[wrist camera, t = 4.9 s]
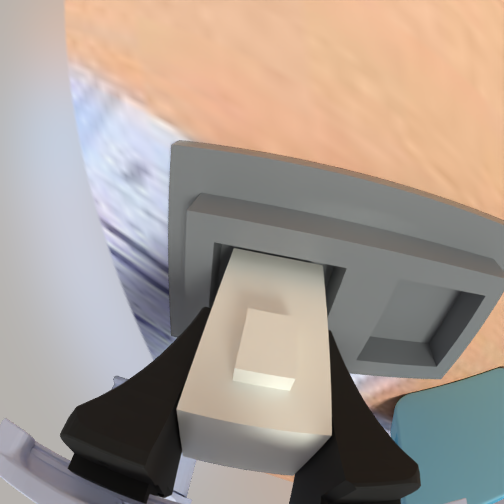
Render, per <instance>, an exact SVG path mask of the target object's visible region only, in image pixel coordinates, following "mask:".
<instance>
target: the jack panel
mask: <svg viewBox="0 0 504 504" xmlns="http://www.w3.org/2000/svg"><path fill="white" fill-rule="evenodd" d="M234 248H236V249H242V250H247V251H252V252H257V253H262V254H267V255H272V256H277V257H282V258H288V259H293V260H298V261H303V262H308V263H313V264H318V265H323V273H324V284H325V295H326V307H327V320H328V330H331V332H332V334H333V336H334V339H335V341H336V344H337V346H338V349H339V351H340V354H341V356H342V358H343V361H344V363H345V365H346V367H347V369H348V371H349V373H352V374H362V375H373V376H385V377H400V378H419V379H441V378H442V377H443V376H444V375H445V374H446V373H447V371H448V370H449V369H450V368H451V367H452V365H453V364H454V363H455V362H456V360H457V359H458V358H459V357H460V355H461V354H462V353H463V351H464V350H465V349H466V347H467V346H468V345H469V343H470V342H471V341H472V339H473V338H474V337H475V335H476V334H477V332H478V331H479V329H480V328H481V327H482V325H483V324H484V322H485V321H486V319H487V318H488V316H489V315H490V313H491V311H492V310H493V308H494V307H495V305H496V304H497V302H498V300H499V299H500V297H501V295H502V294H503V292H504V220H501V219H499V218H496V217H494V216H491V215H489V214H486V213H484V212H481V211H479V210H476V209H473V208H471V207H468V206H465V205H462V204H460V203H457V202H454V201H451V200H448V199H445V198H442V197H439V196H436V195H433V194H430V193H427V192H424V191H421V190H418V189H415V188H411V187H408V186H405V185H401V184H398V183H395V182H391V181H388V180H384V179H380V178H377V177H373V176H369V175H366V174H362V173H358V172H354V171H350V170H346V169H342V168H338V167H333V166H329V165H325V164H320V163H316V162H311V161H306V160H302V159H297V158H292V157H287V156H282V155H276V154H271V153H265V152H260V151H254V150H248V149H241V148H235V147H228V146H221V145H214V144H207V143H199V142H190V141H182V140H179V141H177V142H175V143H174V144H172V145H171V162H170V184H169V224H168V261H169V301H170V323H171V336H174V337H179V336H180V335H181V334H182V333H183V331H184V330H185V329H186V328H187V327H188V326H189V325H190V323H191V322H192V321H193V320H194V318H195V317H196V316H197V315H198V313H199V312H200V310H201V309H202V308H203V307H209V308H212V306H213V304H214V301H215V298H216V295H217V293H218V290H219V287H220V284H221V282H222V279H223V276H224V273H225V271H226V268H227V265H228V263H229V260H230V257H231V254H232V252H233V249H234Z"/></svg>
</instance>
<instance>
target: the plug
mask: <svg viewBox="0 0 504 504" xmlns="http://www.w3.org/2000/svg"><path fill="white" fill-rule="evenodd" d="M177 417H178V425H179V432H180V439H181V446H182V452H183V456H184V457H188V458H192V459H196V460H200V461H204V462H209V463H213V464H218V465H223V466H228V467H233V468H239V469H244V470H251V471H257V472H265V473H272V474H281V475H292V476H293V475H294V474H295V473H296V472H297V471H298V470H299V469H300V468H301V467H302V466H303V465H304V464H305V463H306V462H307V461H308V460H309V459H310V458H311V457H312V456H313V455H314V454H315V453H316V452H317V451H318V450H319V449H320V448H321V447H322V446H323V445H324V444H325V442H326V441H327V440H328V439H329V438H330V437H331V436H332V407H331V374H330V353H329V335H328V320H327V307H326V295H325V284H324V273H323V265H318V264H313V263H308V262H303V261H298V260H293V259H288V258H282V257H277V256H272V255H267V254H262V253H257V252H252V251H247V250H242V249H236V248H234V249H233V252H232V254H231V257H230V260H229V263H228V265H227V268H226V271H225V273H224V276H223V279H222V282H221V284H220V287H219V290H218V293H217V295H216V298H215V301H214V304H213V306H212V309H211V312H210V315H209V318H208V320H207V323H206V326H205V329H204V332H203V334H202V337H201V340H200V343H199V346H198V348H197V351H196V354H195V357H194V360H193V363H192V365H191V368H190V371H189V374H188V377H187V380H186V383H185V386H184V388H183V391H182V394H181V397H180V400H179V403H178V406H177Z"/></svg>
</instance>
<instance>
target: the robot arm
mask: <svg viewBox="0 0 504 504" xmlns="http://www.w3.org/2000/svg"><path fill="white" fill-rule="evenodd" d="M211 309H212V308H209V307H203V308H202V309H201V310H200V312H199V313H198V315H197V316H196V317H195V318H194V320H193V321H192V322H191V323H190V325H189V326H188V327H187V328H186V329H185V330H184V331H183V333H182V334H181V335H180V336H179V337H178V338H177V339H176V340H175V341H174V342H173V343H172V344H171V345H170V346H169V347H168V348H167V349H166V350H165V351H164V352H163V353H162V354H161V355H160V356H158V357H157V358H156V359H155V360H154V361H153V362H151V363H150V364H149V365H148V366H146V367H145V368H144V369H143V370H141V371H140V372H138V373H137V374H136V375H134V376H133V377H131V378H130V379H125V378H122V377H119V376H115V377H114V379H113V380H114V383H115V384H114V386H113V388H112V390H110V391H109V392H107V393H105V394H103V395H101V396H99V397H97V398H95V399H93V400H90V401H88V402H86V403H84V404H81V405H79V406H77V407H76V408H75V410H74V411H73V412H72V414H71V415H70V417H69V418H68V420H67V422H66V424H65V426H64V428H63V429H62V431H61V433H60V437H61V439H62V440H63V442H64V443H65V444H66V445H67V446H68V447H69V448H70V449H71V450H72V451H73V452H74V455H73V457H72V460H71V461H70V460H68V459H66V458H64V457H62V456H60V455H58V454H57V453H55V452H53V451H51V450H50V449H48V448H46V447H44V446H43V445H41V444H39V443H38V442H36V441H35V440H34V439H33V437H31V436H30V435H29V434H28V433H27V432H25V431H24V430H23V429H21V428H20V427H18V426H17V425H15V424H14V423H12V422H11V421H10V420H8V419H7V418H4V419H3V421H2V422H1V424H0V477H1V478H2V479H4V480H5V481H6V482H7V483H9V484H10V485H11V486H13V487H14V488H15V489H17V490H18V491H19V492H21V493H22V494H23V495H25V496H26V497H27V498H29V499H30V500H32V501H33V502H35V503H36V504H191V502H192V500H191V499H188V498H187V494H188V490H189V486H190V482H191V479H192V474H193V471H194V467H195V463H196V459H192V458H188V457H184V456H183V452H182V446H181V439H180V432H179V425H178V417H177V406H178V403H179V400H180V397H181V394H182V391H183V388H184V386H185V383H186V380H187V377H188V374H189V371H190V368H191V365H192V363H193V360H194V357H195V354H196V351H197V348H198V346H199V343H200V340H201V337H202V334H203V332H204V329H205V326H206V323H207V320H208V318H209V315H210V312H211ZM328 335H329V353H330V374H331V407H332V436H331V437H330V438H329V439H328V440H327V441H326V442H325V444H324V445H323V446H322V447H321V448H320V449H319V450H318V451H317V452H316V453H315V454H314V455H313V456H312V457H311V458H310V459H309V460H308V461H307V462H306V463H305V464H304V465H303V466H302V467H301V468H300V469H299V470H298V471H297V472H296V473H295V477H294V483H293V488H292V493H291V498H290V502H289V504H401V498H403V497H405V496H407V495H409V494H411V493H413V492H415V491H417V490H418V489H419V488H420V486H421V480H420V471H419V466H418V464H417V463H416V462H415V461H414V460H413V459H412V458H411V457H410V456H409V455H407V454H406V453H405V452H404V451H403V450H402V449H401V448H400V447H399V446H398V445H397V444H396V443H395V441H394V440H393V439H392V438H391V437H390V436H389V435H388V433H387V432H386V431H385V430H384V428H383V427H382V426H381V425H380V423H379V422H378V421H377V419H376V418H375V416H374V415H373V414H372V412H371V411H370V409H369V408H368V406H367V404H366V403H365V401H364V400H363V398H362V396H361V394H360V393H359V391H358V389H357V387H356V385H355V384H354V382H353V380H352V378H351V376H350V373H349V371H348V369H347V367H346V365H345V363H344V361H343V358H342V356H341V354H340V351H339V349H338V346H337V344H336V341H335V339H334V336H333V334H332V332H331V330H328ZM445 504H467V500H466V498H463V499H459V500H455V501H452V502H448V503H445Z"/></svg>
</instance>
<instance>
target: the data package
mask: <svg viewBox="0 0 504 504" xmlns="http://www.w3.org/2000/svg"><path fill="white" fill-rule="evenodd" d="M391 438H392V439H393V440H394V441H395V443H396V444H397V445H398V446H399V447H400V448H401V449H402V450H403V451H404V452H405V453H406V454H407V455H409V456H410V457H411V458H412V459H413V460H414V461H415V462H416V463H417V464H418V466H419V471H420V480H421V486H420V488H419V489H418V490H417V491H415V492H413V493H411V494H409V495H407V496H405V497H403V498H401V504H445V503H448V502H452V501H455V500H459V499H463V498H466V500H467V504H493V503H495V502H498V501H500V500H502V499H504V368H496V369H493V370H491V371H488V372H485V373H482V374H479V375H476V376H473V377H470V378H466V379H463V380H460V381H457V382H453V383H450V384H446V385H442V386H439V387H435V388H431V389H427V390H423V391H419V392H414V393H410V394H407V395H405V396H403V397H402V398H401V399H400V400H399V401H398V402H397V404H396V406H395V409H394V415H393V420H392V425H391Z"/></svg>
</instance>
